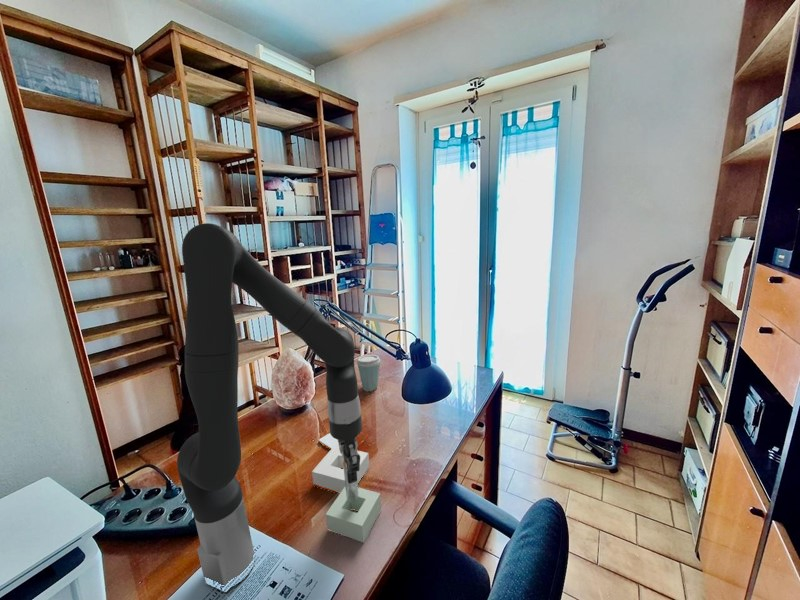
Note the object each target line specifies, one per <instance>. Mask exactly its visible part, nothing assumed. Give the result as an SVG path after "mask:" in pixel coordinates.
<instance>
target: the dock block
mask: <svg viewBox="0 0 800 600" xmlns="http://www.w3.org/2000/svg"><path fill="white" fill-rule="evenodd" d="M357 452H358V454H359V455H360V467H359V471H357V482H358V483H359V481H360V480H361V478H362V477H363V475H364V474H365V475H366V473H367V472H368V470H369V469H370V467H371V465H370V455H369V454H370V453H369V452H365V451H363V450H362V451H361V450H358V449H357ZM341 456H342V454H341V453H340V450H339V446H336V445H334V447H333V448H332V449H331V450H329V451H328V452H327V454H326V455H325V456H324V457H323V458H322V459H321V461H319V463H318V464H317V465H316V466H315V467H314V469H313V470H312V471H311V473H312V474H311V475H312V476H311V477H312V483H313V485H314V484H316V485H319V486H322V487H326V488H329V489H332V490H335V491H338V492H342V490H343V489H344V487H345V477H344V468H343V459H342V457H341ZM369 466H370V467H369ZM341 468H343V469H341ZM368 468H369V469H368ZM367 469H368V470H367ZM366 471H367V472H366ZM365 472H366V473H365ZM365 475H364V476H365ZM363 478H364V477H363ZM363 478H362V479H363ZM361 481H362V480H361ZM361 481H360V482H361ZM359 484H360V483H359Z"/></svg>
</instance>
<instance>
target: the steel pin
mask: <svg viewBox="0 0 800 600" xmlns="http://www.w3.org/2000/svg"><path fill="white" fill-rule="evenodd" d="M346 457H347V456H346ZM343 468H344V477H345V487H346V497H347V501H348V502H355V501H357V500H358V498H359V493H358V487H359V484H358V482H357V481H356V482H353V483H350V484H349V483H348V479H347V470H346V463H345V462H344V461H343Z"/></svg>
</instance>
